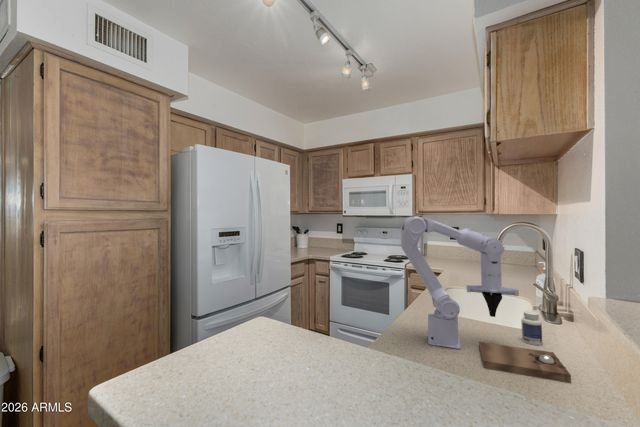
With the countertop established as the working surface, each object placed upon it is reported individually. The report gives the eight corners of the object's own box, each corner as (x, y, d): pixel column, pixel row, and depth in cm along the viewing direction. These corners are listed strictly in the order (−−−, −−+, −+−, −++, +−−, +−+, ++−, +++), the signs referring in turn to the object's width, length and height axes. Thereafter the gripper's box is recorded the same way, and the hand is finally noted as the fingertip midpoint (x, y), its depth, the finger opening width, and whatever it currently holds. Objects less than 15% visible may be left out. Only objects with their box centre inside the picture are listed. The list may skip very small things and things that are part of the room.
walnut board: (483, 367, 78) (483, 360, 78) (479, 348, 90) (478, 341, 90) (572, 383, 70) (571, 375, 70) (554, 359, 82) (553, 352, 82)
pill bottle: (546, 346, 91) (544, 315, 91) (527, 345, 92) (526, 314, 92) (536, 339, 96) (535, 310, 96) (519, 338, 97) (518, 309, 97)
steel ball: (548, 355, 76) (560, 366, 75) (544, 349, 79) (555, 360, 78) (537, 362, 77) (548, 373, 76) (534, 356, 80) (545, 367, 79)
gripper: (467, 275, 92) (468, 316, 92) (520, 278, 86) (521, 322, 86) (465, 271, 99) (466, 310, 98) (515, 273, 93) (516, 315, 92)
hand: (492, 315), depth 93 cm, fingers closed
